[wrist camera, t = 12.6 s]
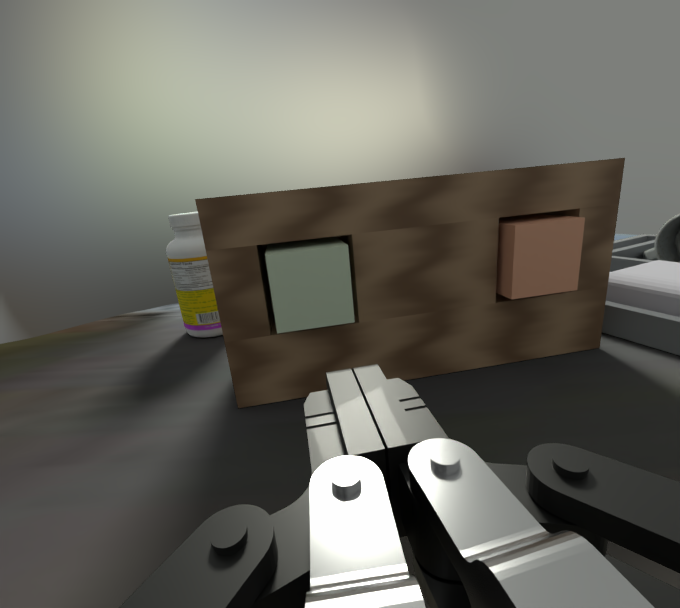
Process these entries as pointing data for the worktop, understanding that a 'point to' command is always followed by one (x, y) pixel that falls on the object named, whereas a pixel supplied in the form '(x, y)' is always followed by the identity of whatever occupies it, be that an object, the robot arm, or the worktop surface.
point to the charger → (647, 287)
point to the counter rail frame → (634, 321)
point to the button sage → (310, 283)
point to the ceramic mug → (666, 242)
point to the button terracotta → (538, 254)
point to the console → (408, 275)
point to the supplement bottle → (193, 276)
